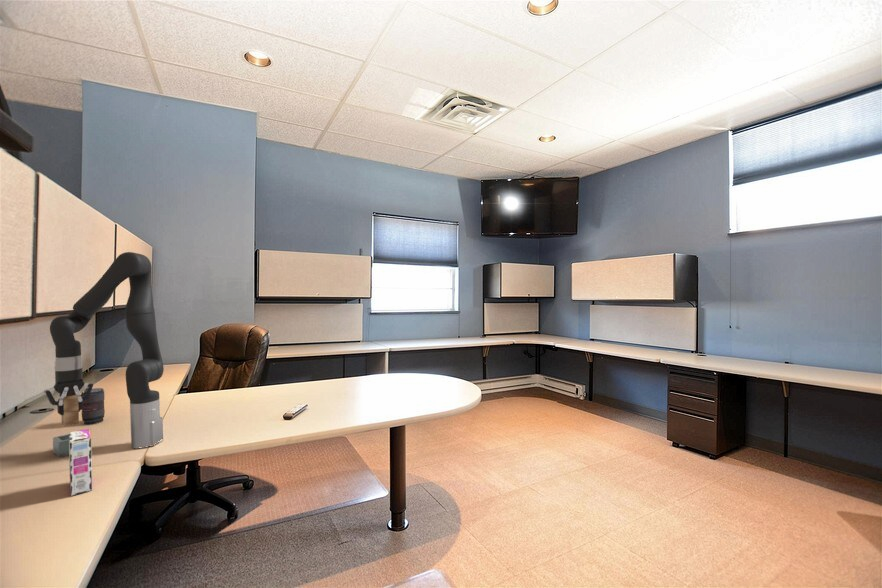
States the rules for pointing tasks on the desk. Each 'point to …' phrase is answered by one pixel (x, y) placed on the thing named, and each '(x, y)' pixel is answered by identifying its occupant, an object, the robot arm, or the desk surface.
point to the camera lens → (93, 407)
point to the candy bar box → (80, 462)
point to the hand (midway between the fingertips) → (70, 412)
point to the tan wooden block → (70, 410)
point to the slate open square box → (61, 445)
